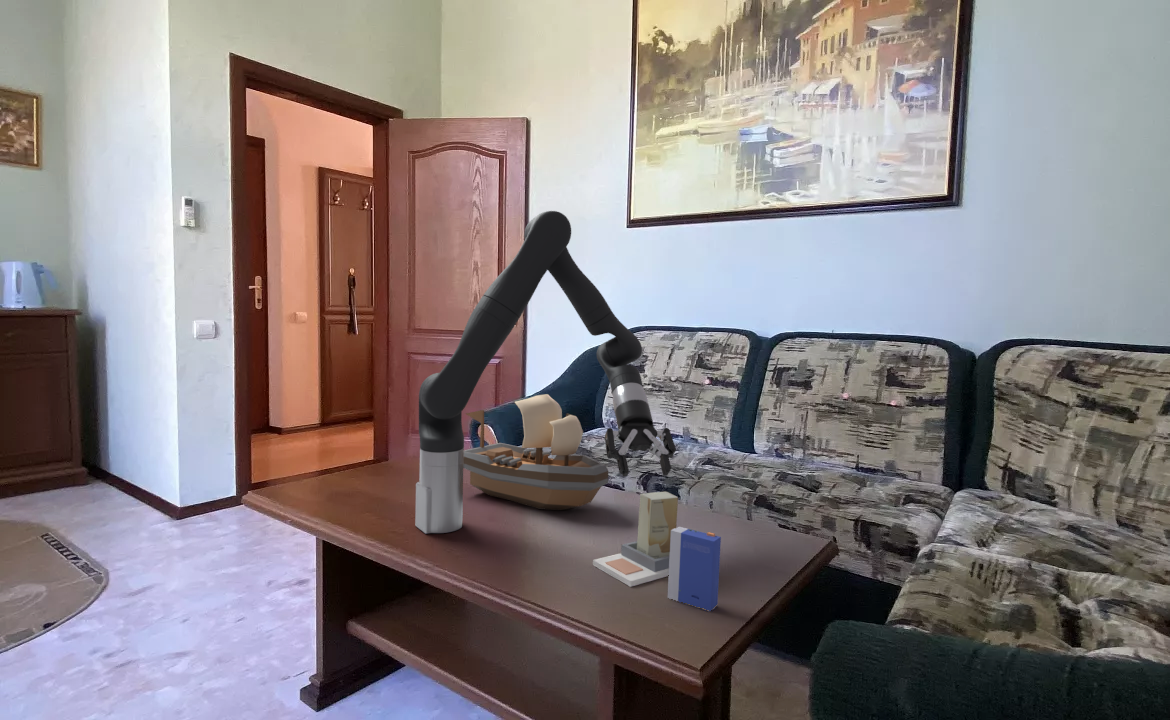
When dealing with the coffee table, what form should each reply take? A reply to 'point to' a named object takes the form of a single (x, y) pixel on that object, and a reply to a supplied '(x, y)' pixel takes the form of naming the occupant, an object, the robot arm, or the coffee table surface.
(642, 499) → the skincare box
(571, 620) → the coffee table surface
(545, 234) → the robot arm
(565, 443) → the sailing ship
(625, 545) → the plate
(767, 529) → the coffee table surface
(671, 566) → the walkman
